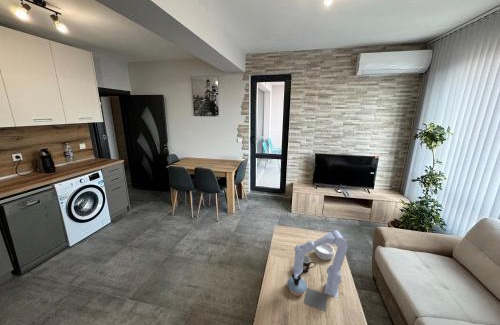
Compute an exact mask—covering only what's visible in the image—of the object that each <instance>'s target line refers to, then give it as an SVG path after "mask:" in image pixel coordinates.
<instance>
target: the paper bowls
mask: <svg viewBox="0 0 500 325" xmlns="http://www.w3.org/2000/svg"><path fill="white" fill-rule="evenodd" d="M314 253H315V255H316V256H318V258H319V259H321V260H324V261H328V260H330V259H331V260H332V259H334V257H335V248H334V247H333V245H332V246H331V244H329V243H327V244H324V245H321V246H318V247H316V249H315V250H314Z"/></svg>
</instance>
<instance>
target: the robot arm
mask: <svg viewBox="0 0 500 325" xmlns="http://www.w3.org/2000/svg"><path fill="white" fill-rule="evenodd" d="M324 244H328V245H332V246H336V247H337V249H336V252H335V253H334V256H333V261H332V264H330V265H329V267H328V268H327V269H326V273H327V279H326V283H325V290H324V294H327V296H328V295H329V296H331V297H334V298H337V299H338V298H339V285H340V284H341V283H342V280H341V278H342V274H341V269H342V266H343V263H344V260H345V257H346V254H347V252H348V248H349V246H348V243H347V240H346V239H345V237H344V236H343V234H342V233H341V231H339V230H337V229H333V230H331V231H328V232H327V234H325V235H324V236H322V237H320V238H318V239H316V240H314V241H312V240H309V241H307V242H305V243H302V244H297V245H296V246H294V248H293V250H294V261H293V265H292V266H291V269H292V270H293V273H292V275H291V277H292V278H293V280H294V284H295V285H298V283H299V280H300V279H302V276H301V274H302V273H303V268H304V267H303V260H304V256H305V255H306V256H307V254H308V253H311V252H313V251H315V249H316V247H318V246H321V245H324Z"/></svg>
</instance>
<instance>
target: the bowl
mask: <svg viewBox="0 0 500 325" xmlns="http://www.w3.org/2000/svg"><path fill="white" fill-rule="evenodd" d="M288 290H289V292H290V293H291V294H292V295H293V296H297V297H299V296H303V294H304V293H305V292H303V293H295V292H293V291H291V290H290V289H289V288H288Z"/></svg>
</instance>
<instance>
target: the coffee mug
mask: <svg viewBox="0 0 500 325" xmlns="http://www.w3.org/2000/svg"><path fill="white" fill-rule="evenodd" d="M312 264H314V265H313V266H310V265H312ZM316 265H317V264H316V262H314V261H312V260H311V257H310V256H308V255H307V254H306V255H305V256H304V260H303V267H304V268H303V272H302V273H304V274H307V273H308V272H309V271H310V269H312V268H315V267H316Z"/></svg>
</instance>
